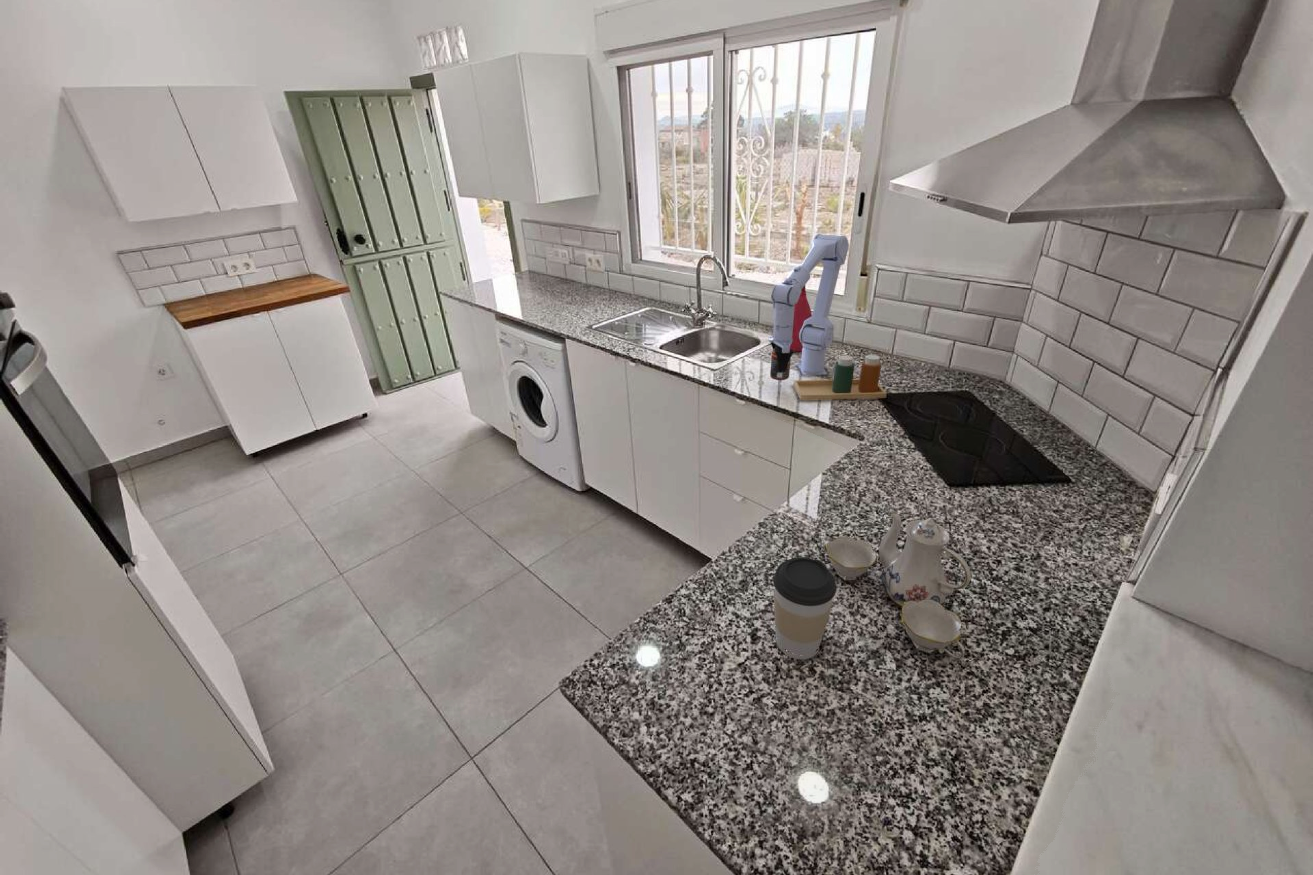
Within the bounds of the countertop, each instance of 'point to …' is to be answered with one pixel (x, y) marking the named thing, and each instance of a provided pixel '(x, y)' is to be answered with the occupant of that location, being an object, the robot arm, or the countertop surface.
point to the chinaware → (910, 578)
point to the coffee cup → (802, 605)
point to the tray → (824, 390)
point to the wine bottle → (799, 319)
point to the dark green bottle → (843, 375)
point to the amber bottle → (870, 374)
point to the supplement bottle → (774, 367)
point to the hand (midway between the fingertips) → (780, 367)
